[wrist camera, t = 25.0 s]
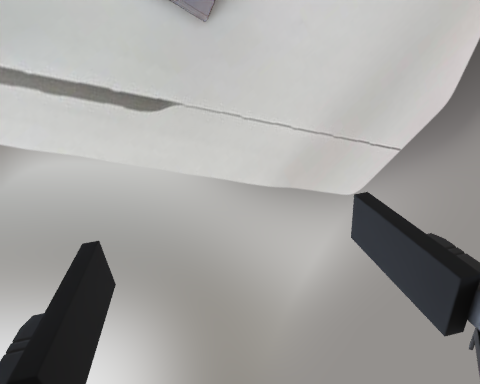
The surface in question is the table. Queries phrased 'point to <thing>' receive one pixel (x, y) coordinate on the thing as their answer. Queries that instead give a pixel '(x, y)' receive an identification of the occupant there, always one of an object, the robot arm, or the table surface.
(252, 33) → the table surface
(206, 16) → the brown square box
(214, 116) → the table surface
